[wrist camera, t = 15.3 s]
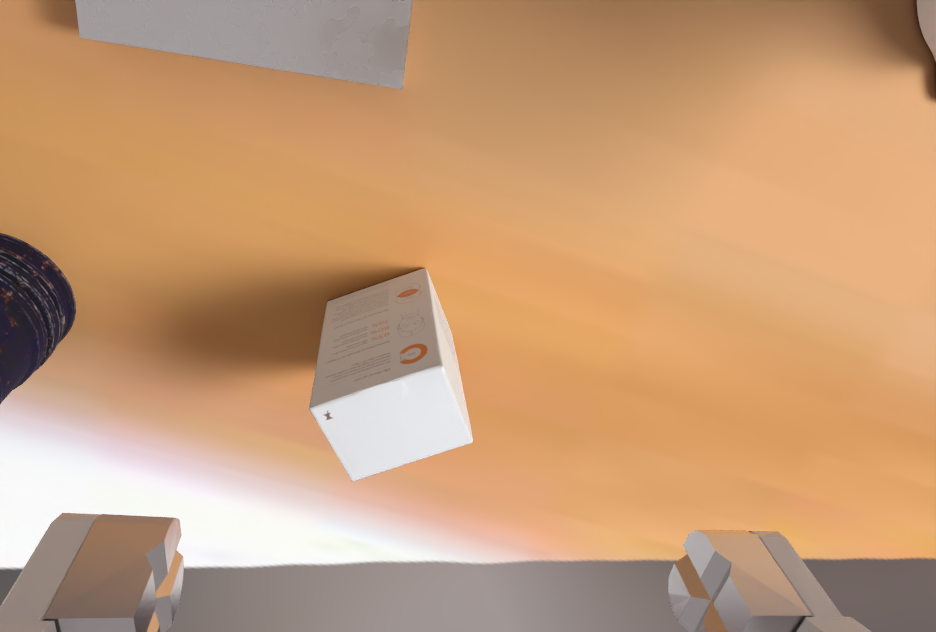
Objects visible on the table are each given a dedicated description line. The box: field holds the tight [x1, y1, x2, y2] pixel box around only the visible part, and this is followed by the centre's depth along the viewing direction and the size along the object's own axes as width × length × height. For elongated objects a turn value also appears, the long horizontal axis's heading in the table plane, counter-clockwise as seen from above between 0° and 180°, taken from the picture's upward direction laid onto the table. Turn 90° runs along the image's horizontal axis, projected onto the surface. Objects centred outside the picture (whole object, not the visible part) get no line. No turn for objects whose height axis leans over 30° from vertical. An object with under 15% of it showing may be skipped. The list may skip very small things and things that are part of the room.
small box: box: [309, 268, 473, 481], centre depth 41 cm, size 8×6×13 cm
